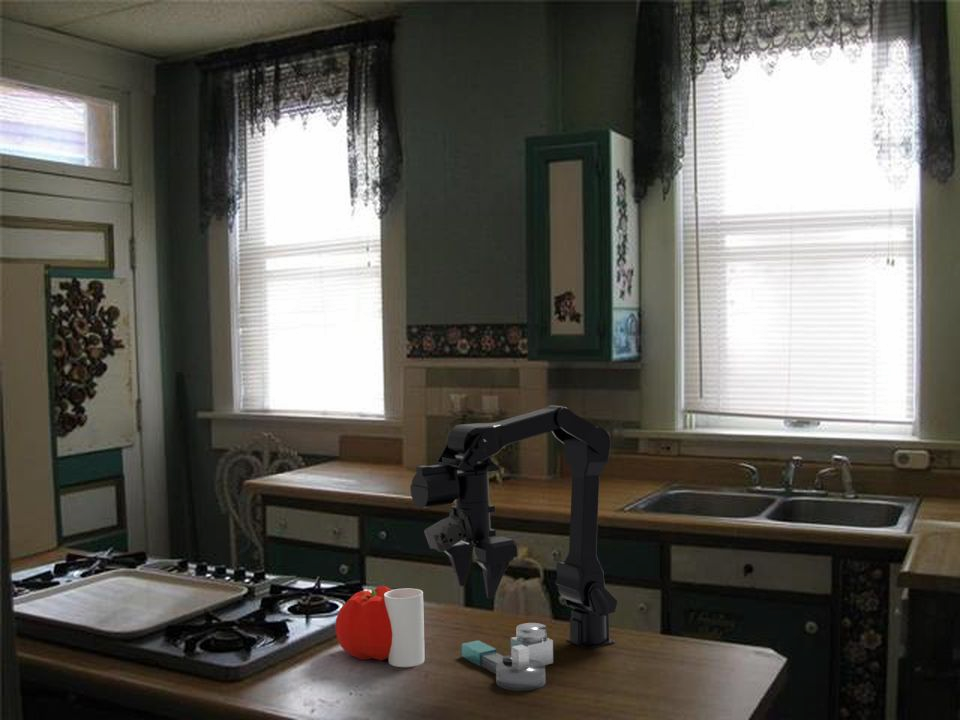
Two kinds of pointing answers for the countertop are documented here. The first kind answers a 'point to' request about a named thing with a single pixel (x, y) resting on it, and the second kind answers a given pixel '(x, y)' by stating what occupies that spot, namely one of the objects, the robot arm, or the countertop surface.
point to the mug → (406, 626)
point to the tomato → (365, 625)
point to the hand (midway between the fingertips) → (476, 591)
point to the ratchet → (507, 666)
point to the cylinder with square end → (534, 641)
